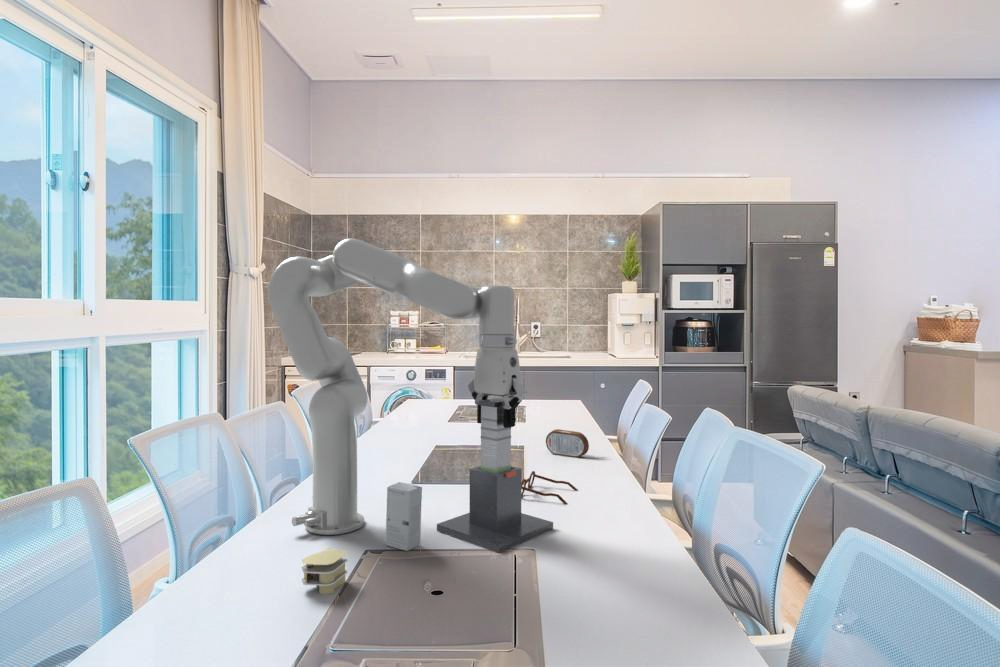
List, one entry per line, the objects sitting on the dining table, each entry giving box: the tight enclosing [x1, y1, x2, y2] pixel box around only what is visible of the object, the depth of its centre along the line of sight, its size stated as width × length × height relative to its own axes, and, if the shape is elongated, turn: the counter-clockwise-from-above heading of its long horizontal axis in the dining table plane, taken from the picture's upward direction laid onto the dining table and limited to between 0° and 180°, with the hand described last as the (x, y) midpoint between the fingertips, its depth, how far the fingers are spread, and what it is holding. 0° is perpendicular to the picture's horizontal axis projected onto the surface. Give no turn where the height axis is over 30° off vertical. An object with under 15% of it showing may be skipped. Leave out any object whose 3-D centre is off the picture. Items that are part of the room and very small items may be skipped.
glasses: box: [521, 470, 579, 505], centre depth 158 cm, size 13×13×5 cm
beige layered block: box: [301, 548, 349, 595], centre depth 103 cm, size 10×9×6 cm
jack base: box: [436, 465, 554, 553], centre depth 131 cm, size 18×18×14 cm
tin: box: [545, 428, 590, 458], centre depth 201 cm, size 15×3×8 cm, turn 58°
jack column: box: [479, 397, 512, 474], centre depth 131 cm, size 6×5×21 cm
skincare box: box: [385, 481, 423, 552], centre depth 122 cm, size 6×4×12 cm
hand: (495, 424), depth 131 cm, fingers open, 7 cm apart
